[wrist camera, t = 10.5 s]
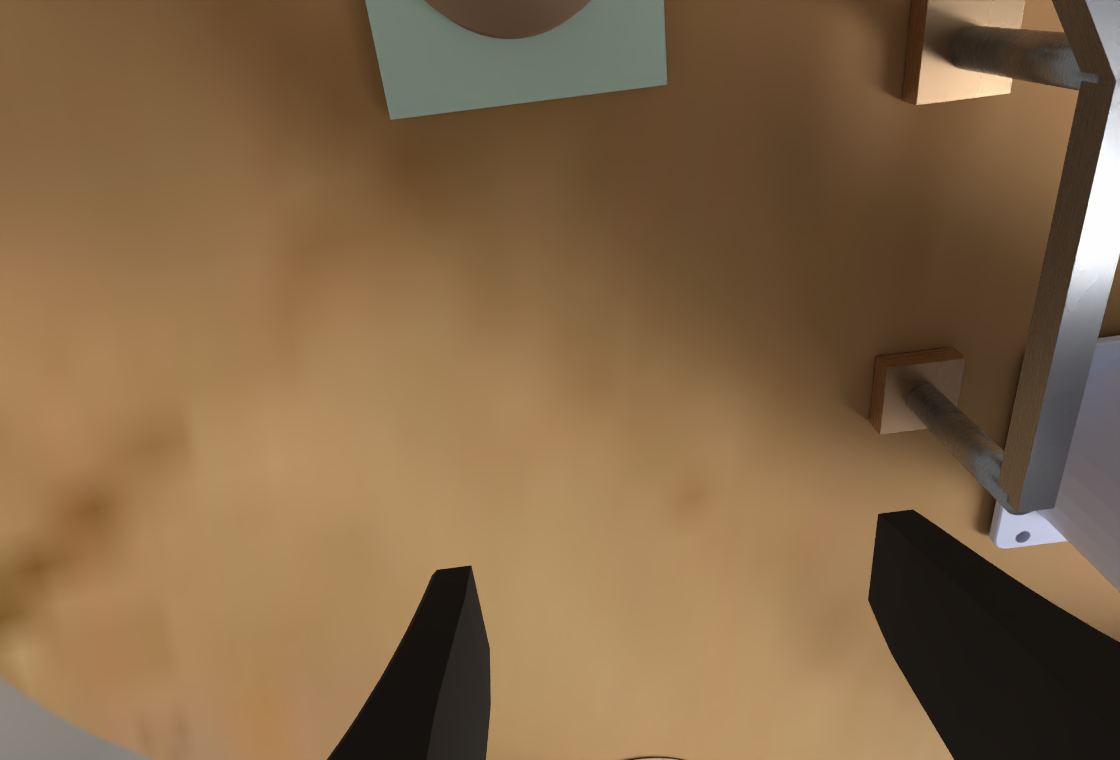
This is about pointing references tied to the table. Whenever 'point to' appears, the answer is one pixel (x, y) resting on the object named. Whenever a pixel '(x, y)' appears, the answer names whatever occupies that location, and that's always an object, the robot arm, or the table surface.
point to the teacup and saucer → (656, 759)
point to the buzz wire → (1072, 250)
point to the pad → (513, 57)
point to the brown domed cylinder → (508, 15)
